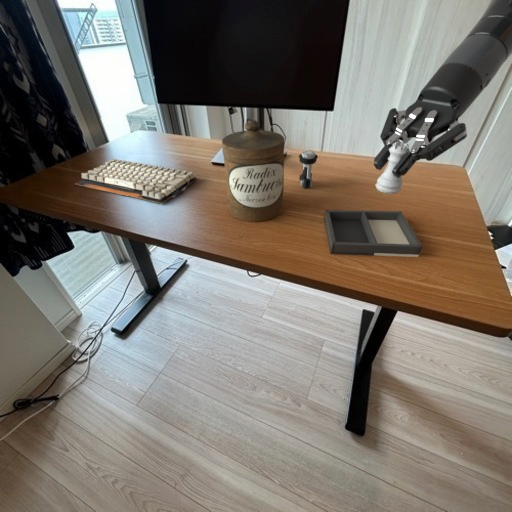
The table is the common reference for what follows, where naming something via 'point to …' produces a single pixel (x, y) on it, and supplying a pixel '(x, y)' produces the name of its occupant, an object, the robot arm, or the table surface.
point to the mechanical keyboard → (137, 180)
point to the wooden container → (254, 172)
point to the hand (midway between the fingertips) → (385, 170)
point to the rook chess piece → (387, 179)
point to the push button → (307, 167)
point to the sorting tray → (370, 233)
